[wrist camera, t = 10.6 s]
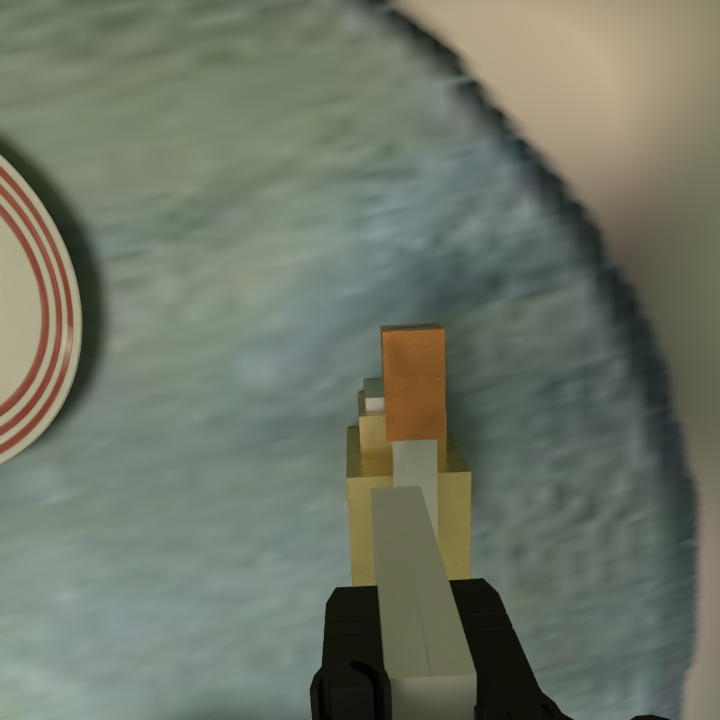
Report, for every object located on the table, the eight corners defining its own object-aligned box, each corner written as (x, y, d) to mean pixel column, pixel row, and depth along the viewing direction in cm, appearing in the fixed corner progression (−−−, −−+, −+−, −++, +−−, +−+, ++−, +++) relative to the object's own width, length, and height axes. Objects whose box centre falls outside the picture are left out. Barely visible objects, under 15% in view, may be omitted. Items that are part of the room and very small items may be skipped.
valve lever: (387, 555, 32) (392, 599, 28) (378, 321, 28) (383, 333, 24) (435, 552, 32) (447, 596, 28) (433, 318, 28) (446, 330, 24)
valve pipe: (445, 551, 42) (470, 630, 33) (354, 556, 42) (355, 636, 33) (444, 375, 39) (471, 412, 30) (344, 380, 39) (343, 418, 30)
